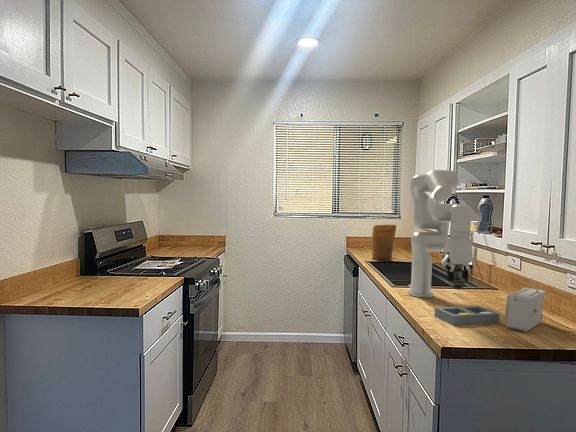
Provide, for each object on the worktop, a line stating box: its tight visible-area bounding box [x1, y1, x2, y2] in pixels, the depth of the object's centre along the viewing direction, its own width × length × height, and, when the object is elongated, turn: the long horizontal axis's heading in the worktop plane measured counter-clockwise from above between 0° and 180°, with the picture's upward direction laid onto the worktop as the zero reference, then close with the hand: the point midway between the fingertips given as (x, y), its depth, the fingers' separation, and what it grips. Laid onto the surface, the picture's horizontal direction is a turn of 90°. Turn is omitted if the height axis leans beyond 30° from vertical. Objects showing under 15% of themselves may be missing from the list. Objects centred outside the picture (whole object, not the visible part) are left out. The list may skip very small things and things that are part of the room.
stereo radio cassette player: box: [504, 278, 547, 333], centre depth 158 cm, size 21×8×20 cm, turn 133°
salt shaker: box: [450, 265, 467, 291], centre depth 162 cm, size 6×6×12 cm
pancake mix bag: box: [371, 224, 397, 261], centre depth 314 cm, size 7×19×28 cm, turn 95°
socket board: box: [434, 305, 501, 326], centre depth 164 cm, size 12×21×4 cm, turn 105°
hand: (457, 280), depth 162 cm, fingers closed on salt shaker, 5 cm apart
